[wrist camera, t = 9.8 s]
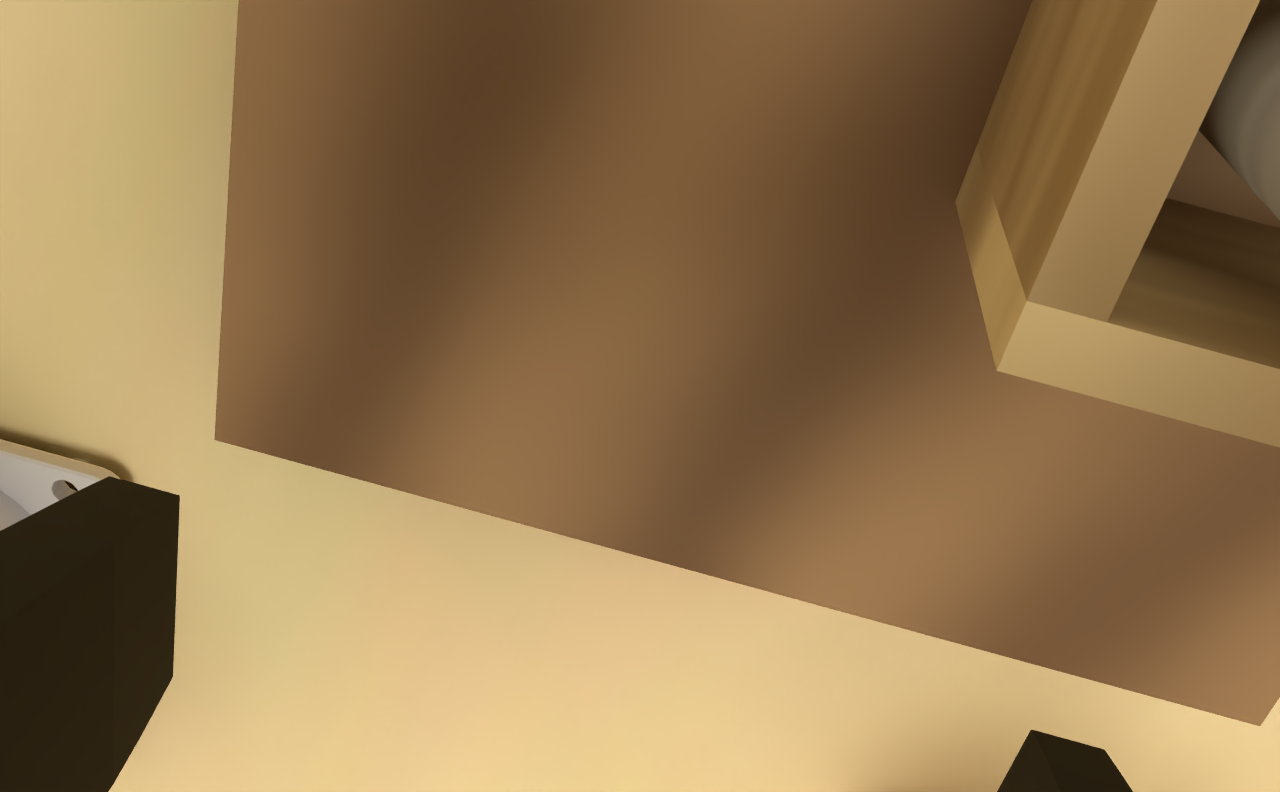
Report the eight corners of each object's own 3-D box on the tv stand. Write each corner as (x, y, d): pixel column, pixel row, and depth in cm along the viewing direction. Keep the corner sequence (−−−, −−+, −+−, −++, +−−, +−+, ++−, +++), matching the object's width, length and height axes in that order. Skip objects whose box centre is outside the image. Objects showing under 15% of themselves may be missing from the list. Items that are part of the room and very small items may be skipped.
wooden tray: (245, 405, 21) (85, 586, 17) (313, -583, 14) (69, -727, 10) (1238, 676, 21) (1347, 935, 17) (1802, -194, 14) (2259, -159, 10)
